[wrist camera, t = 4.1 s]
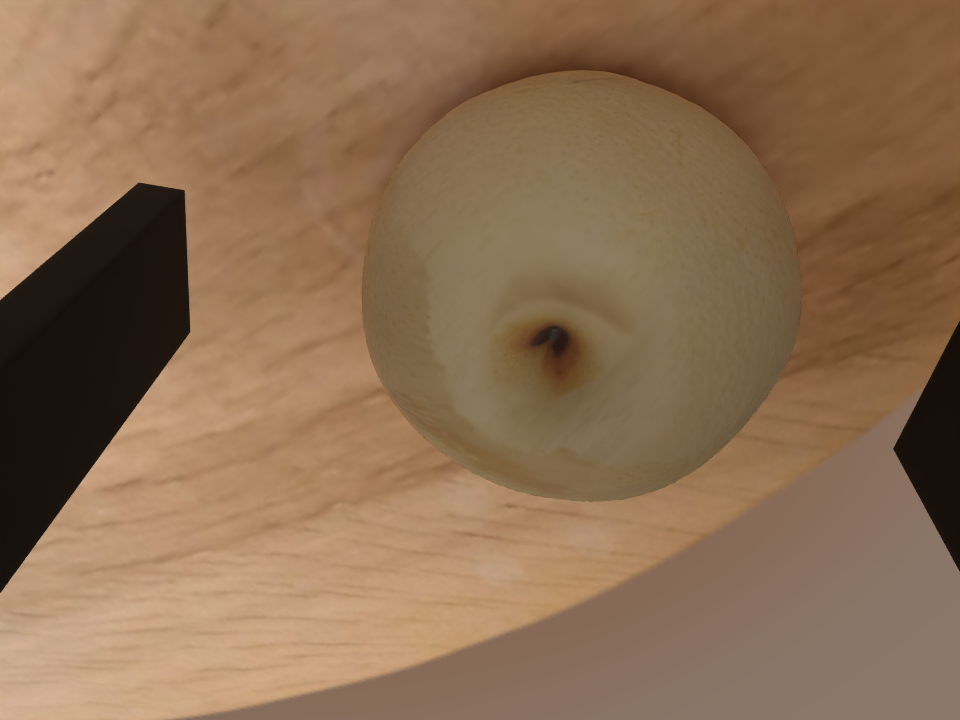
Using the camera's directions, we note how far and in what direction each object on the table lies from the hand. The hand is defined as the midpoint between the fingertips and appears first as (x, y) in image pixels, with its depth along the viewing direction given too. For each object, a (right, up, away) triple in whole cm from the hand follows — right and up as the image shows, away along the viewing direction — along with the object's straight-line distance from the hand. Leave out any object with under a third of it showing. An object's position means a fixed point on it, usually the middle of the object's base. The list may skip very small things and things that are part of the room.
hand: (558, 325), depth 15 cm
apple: (+1, +3, +4) cm, 5 cm away
